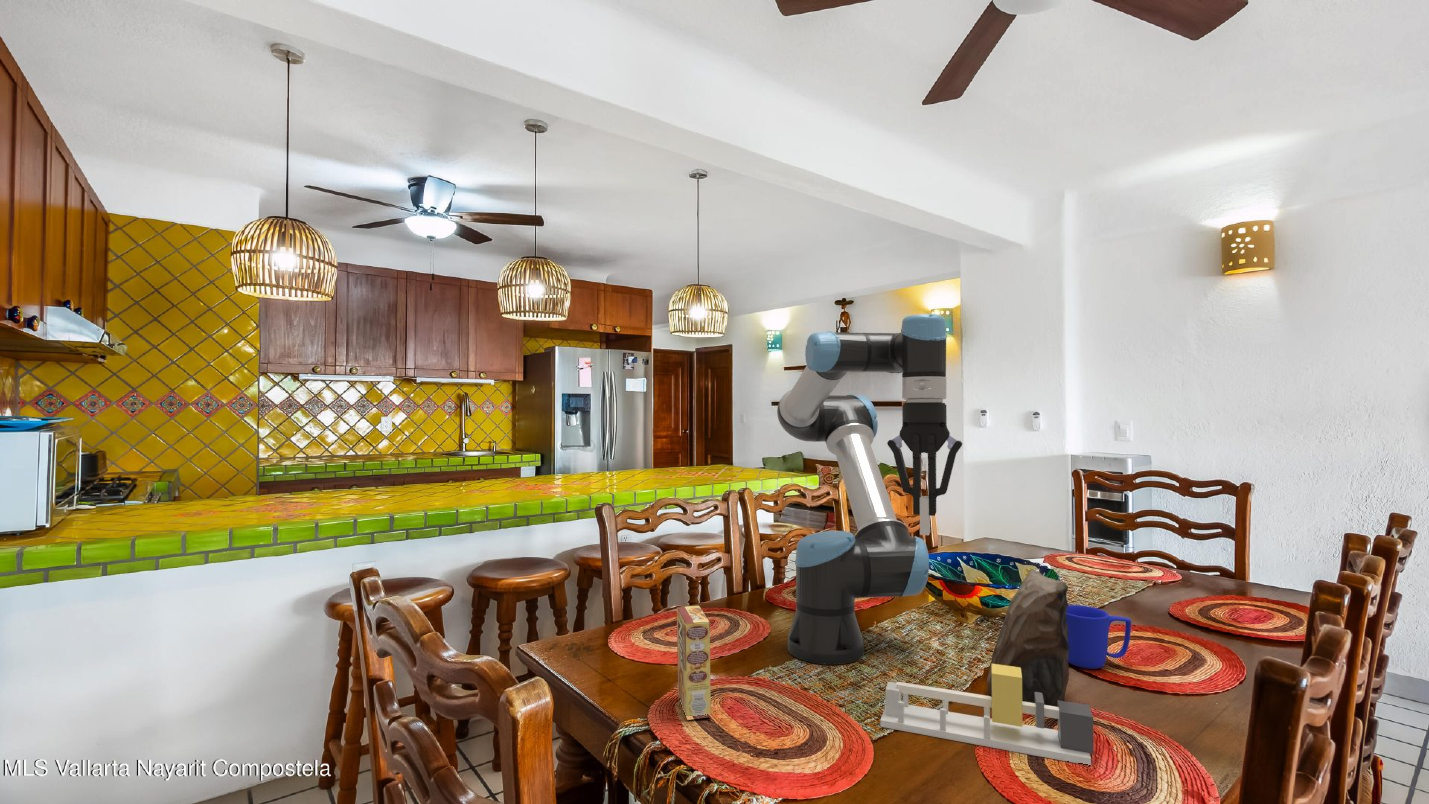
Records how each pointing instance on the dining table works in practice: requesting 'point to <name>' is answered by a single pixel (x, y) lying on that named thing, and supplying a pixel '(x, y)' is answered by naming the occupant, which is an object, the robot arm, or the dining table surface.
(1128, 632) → the mug
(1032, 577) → the brown rock
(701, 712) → the candy box
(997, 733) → the comb rail
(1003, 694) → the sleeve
